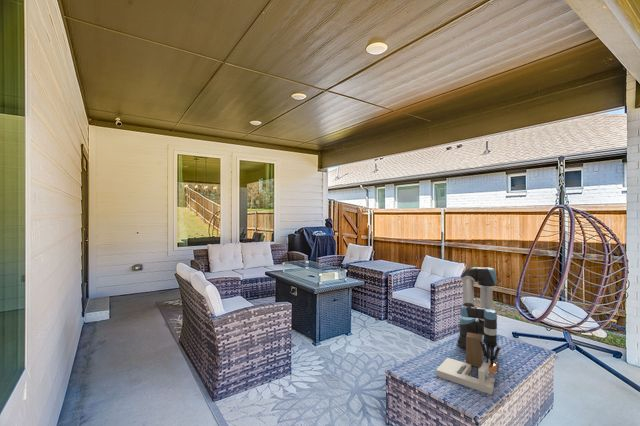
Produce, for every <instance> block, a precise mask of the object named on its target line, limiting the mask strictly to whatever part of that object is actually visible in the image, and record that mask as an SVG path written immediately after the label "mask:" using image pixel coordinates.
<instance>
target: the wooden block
mask: <svg viewBox="0 0 640 426" xmlns="http://www.w3.org/2000/svg"><path fill="white" fill-rule="evenodd" d="M480 341H483V335H480V334H474V333H469V332H467V335H466V349H465V363H467V364H471V367H477V368H478V367H481V366H482V364H483V363H484V361H483V358H484V355H483V351H482V346H481V344H480Z"/></svg>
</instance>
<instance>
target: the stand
mask: <svg viewBox="0 0 640 426" xmlns="http://www.w3.org/2000/svg"><path fill="white" fill-rule="evenodd" d="M488 367H489V364H488V363H487V362H482V366H481V367H480V369H479V370H478V369H477V370H478V371H477V372H478V374H477V375H478V378H476V377H473V376H471V375H469V374H470V373H471V372H472V366H471V364H467V363H466V362H464V361H460V360H457V359H453V358H451V357H447V358H445V360H444V361H443V362H442V363H441V364H440V365H439V366H438V367H437V369H435V373H436V374H435V375H436V377H438V376H439V377H438V378H441V377H442V379H444V380H446V381H447V380H448V381H450V382H453V383H456V384H459V385H462V386H464V387H467V388H471V389H474V390H477V391H478V392H482V393H485V394H488V395H490V396H491V395H493V393H494V388H495V387H494V385H495V384H493V383H490V382H487V381H485V372H486V371H487V369H488Z"/></svg>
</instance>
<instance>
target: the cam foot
mask: <svg viewBox="0 0 640 426" xmlns="http://www.w3.org/2000/svg"><path fill="white" fill-rule="evenodd" d="M479 369H480V367H477V370H479ZM499 371H500V370H499V362H498V361H495V362H494V363H493V365H491V366H489V367H488V369H487V371H486V372H485V381H487V382H490V383H493V384H494V385H495V384H496V378H495V376H494V374H496V373H499Z"/></svg>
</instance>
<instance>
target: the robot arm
mask: <svg viewBox="0 0 640 426" xmlns="http://www.w3.org/2000/svg"><path fill="white" fill-rule="evenodd" d="M460 280H461V283H462V305H460V306H459V309H460V310H459V312H460V313H459V316H461V317H460V318H459V323H458V325H459V336H458V338H457V342H456V344H457V346H458V347H460V348H462V349H464V350H466V335H467V332H469V333H474V334H480V335H482V336H483V339H482V341H480V344H481V346H482V351H483V358H486V363H487V364H489V366H491V365H493V364H494V361H495V360H497V359H498V355H499V352H500V350H501V349H502V346H499V344H498V339H497V338H498V337H497V334H498V314H497V311H496V310H495V309H494V307H493V306H494V305H493V302H494V301H493V299H494V297H493V289H494V287H495V286H496V284H498V281H497V280H498V279H497V274H496V270H495V268H493V267H481V266H480V267H479V266H470V267H468V268H466V269H465V270H464V271H463V272H462V274H461V279H460ZM475 283H477V285H478V286H479V288H480V290H479V292H480V293H479V295H480V296H479V297H480V302H479V303H480V306H479V307H477V306H475V291H474V290H475V289H474V287H475V286H474V284H475Z"/></svg>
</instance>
